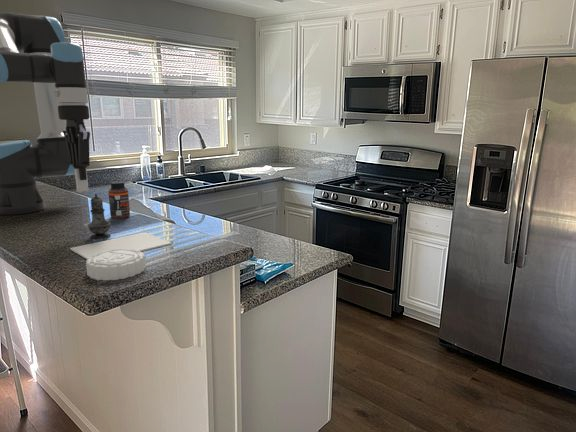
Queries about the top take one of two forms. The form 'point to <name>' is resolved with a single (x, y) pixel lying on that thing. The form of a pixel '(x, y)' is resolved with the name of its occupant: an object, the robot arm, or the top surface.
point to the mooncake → (115, 264)
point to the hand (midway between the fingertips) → (82, 191)
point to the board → (121, 244)
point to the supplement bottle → (118, 200)
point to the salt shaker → (98, 220)
